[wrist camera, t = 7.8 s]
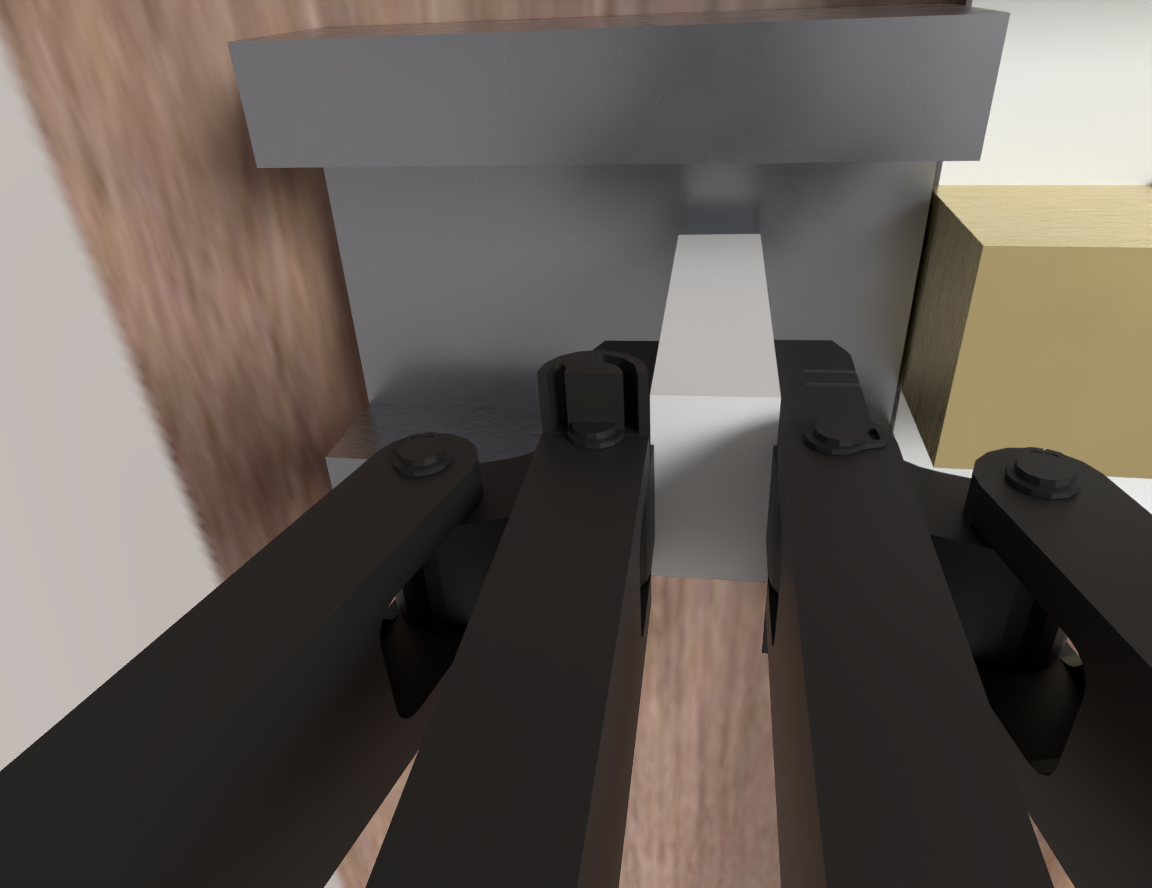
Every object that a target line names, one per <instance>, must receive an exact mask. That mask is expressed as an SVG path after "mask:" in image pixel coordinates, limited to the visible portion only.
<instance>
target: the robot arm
mask: <svg viewBox="0 0 1152 888" xmlns="http://www.w3.org/2000/svg"><path fill="white" fill-rule="evenodd" d="M537 380H538V391H539V402H540V413H541V424H542V434H541V437H540V440H539V442H538V445H537V447H536V450H535V451H534V452H531V453H528V454H525V455H523V456H518V457H513V458H509V459H503V460H496V461H489V462H483V463H479V460H478V453H477V447H476V446H475V445H474V444H472V443H471V442H470V441H469V440H468V439H466V438H463V437H460V436H457V435H454V434H447V433H436V432H426V433H424V434H421V433H418V434H413V435H410V436H408V437H406V438H403V439H400V440H397V441H394V442H392V443H390V444H389V445H387V446H385V447H384V448H382V449H380V450H379V451H377V452H376V453H375V454H374V455H373V456H371V457H370V458H369V459H368V460H367V461H365V462H364V463H363V464H362V465H361V466H360V467H358V468H357V469H356V470H355V471H354V472H352V473H351V474H350V475H349V476H348V477H347V478H345V479H344V480H343V481H342V482H341V483H340V484H338V485H337V486H336V487H335V488H334V489H332V490H331V491H330V492H329V493H328V494H327V495H325V496H324V497H323V498H322V499H321V500H319V501H318V502H317V503H316V504H315V505H314V506H312V507H311V508H310V509H309V510H308V511H307V512H305V513H304V514H303V515H302V516H301V517H299V518H298V519H297V520H296V521H295V522H294V523H292V524H291V525H290V526H289V527H288V528H287V529H285V530H284V531H283V532H282V533H281V534H279V535H278V536H277V537H276V538H275V539H274V540H272V541H271V542H270V543H269V544H268V545H266V546H265V547H264V548H263V549H262V550H261V551H259V552H258V553H257V554H256V555H255V556H254V557H252V558H251V559H250V560H249V561H248V562H246V563H245V564H244V565H243V566H242V567H241V568H239V569H238V570H237V571H236V572H235V573H233V574H232V575H231V576H230V577H229V578H228V579H226V580H225V581H224V582H223V583H222V584H221V585H219V586H218V587H217V588H216V589H215V590H213V591H212V592H211V593H210V594H209V595H208V596H206V597H205V598H204V599H203V600H202V601H201V602H200V603H198V604H197V605H196V606H195V607H193V608H192V609H191V610H190V611H189V612H188V613H186V614H185V615H184V616H183V617H182V618H181V619H179V620H178V621H177V622H176V623H175V624H173V625H172V626H171V627H170V628H169V629H168V630H166V631H165V632H164V633H163V634H162V635H160V636H159V637H158V638H157V639H156V640H155V641H153V642H152V643H151V644H150V645H149V646H148V647H146V648H145V649H144V650H143V651H142V652H141V653H139V654H138V655H137V656H136V657H135V658H133V659H132V660H131V661H130V662H129V663H127V665H125V666H124V667H123V668H122V669H120V670H119V671H118V672H117V673H116V674H115V675H113V676H112V677H111V678H110V679H109V680H107V681H106V682H105V683H104V684H103V685H102V686H100V687H99V688H98V689H97V690H96V691H94V692H93V693H92V694H91V695H90V696H89V697H87V698H86V699H85V700H84V701H83V702H82V703H80V704H79V705H78V706H77V707H76V708H75V709H73V710H72V711H71V712H70V713H69V714H67V715H66V716H65V717H64V718H63V719H62V720H60V721H59V722H58V723H57V724H56V725H54V726H53V727H52V728H51V729H50V730H49V731H47V732H46V733H45V734H44V735H43V736H41V737H40V738H39V739H38V740H37V741H36V742H34V743H33V744H32V745H31V746H30V747H29V748H27V749H26V750H25V751H24V752H23V753H21V754H20V755H19V756H18V757H17V758H16V759H14V760H13V761H12V762H11V763H10V764H8V765H7V766H6V767H5V768H4V769H3V770H1V771H0V888H324V886H325V885H326V883H327V882H328V881H329V879H330V878H331V876H332V875H333V873H334V872H335V870H336V869H337V868H338V866H339V865H340V863H341V862H342V860H343V859H344V857H345V856H346V854H347V853H348V852H349V850H350V849H351V847H352V846H353V844H354V843H355V841H356V840H357V838H358V837H359V836H360V834H361V833H362V831H363V830H364V828H365V827H366V825H367V824H368V823H369V821H370V820H371V818H372V817H373V815H374V814H375V812H376V811H377V809H378V808H379V807H380V805H381V804H382V802H383V801H384V799H385V798H386V796H387V795H388V793H389V792H390V791H391V789H392V788H393V786H394V785H395V783H396V782H397V780H398V779H399V777H400V776H401V775H402V773H403V772H404V770H405V769H406V767H407V766H408V764H409V763H410V761H411V760H412V759H413V757H414V756H415V754H416V753H417V751H418V750H419V751H418V754H417V756H416V759H415V761H414V764H413V767H412V769H411V772H410V774H409V777H408V779H407V782H406V785H405V787H404V790H403V792H402V795H401V797H400V800H399V803H398V805H397V808H396V810H395V813H394V816H393V818H392V821H391V823H390V826H389V828H388V831H387V834H386V836H385V839H384V841H383V844H382V846H381V849H380V852H379V854H378V857H377V859H376V862H375V864H374V867H373V870H372V872H371V875H370V877H369V880H368V882H367V885H366V888H619V879H620V870H621V862H622V853H623V844H624V835H625V827H626V818H627V809H628V800H629V792H630V783H631V774H632V765H633V757H634V748H635V739H636V730H637V722H638V713H639V704H640V695H641V687H642V678H643V669H644V660H645V652H646V643H647V634H648V625H649V617H650V608H651V566H652V575H653V576H670V577H687V578H704V579H720V580H737V581H754V582H766V577H767V565H768V584H767V596H766V609H765V621H764V633H763V645H762V653H768V661H769V679H770V697H771V715H772V733H773V750H774V768H775V786H776V804H777V822H778V840H779V857H780V875H781V888H1054V886H1053V884H1052V881H1051V878H1050V875H1049V872H1048V869H1047V867H1046V864H1045V861H1044V858H1043V855H1042V852H1041V849H1040V847H1039V844H1038V841H1037V838H1036V835H1035V832H1034V830H1033V827H1032V824H1031V821H1030V818H1029V815H1030V816H1031V818H1032V820H1033V821H1034V823H1035V824H1036V826H1037V827H1038V829H1039V831H1040V832H1041V834H1042V835H1043V837H1044V839H1045V840H1046V842H1047V843H1048V845H1049V847H1050V848H1051V850H1052V851H1053V853H1054V855H1055V856H1056V858H1057V859H1058V861H1059V863H1060V864H1061V866H1062V867H1063V869H1064V871H1065V872H1066V874H1067V875H1068V877H1069V878H1070V880H1071V882H1072V883H1073V885H1074V886H1075V888H1152V514H1151V513H1150V512H1149V511H1147V510H1146V509H1145V508H1144V507H1143V506H1141V505H1140V504H1139V503H1138V502H1137V501H1135V500H1134V499H1133V498H1132V497H1130V496H1129V495H1128V494H1127V493H1126V492H1124V491H1123V490H1122V489H1121V488H1120V487H1118V486H1117V485H1116V484H1115V483H1114V482H1112V481H1111V480H1110V479H1109V478H1108V477H1106V476H1105V475H1104V474H1103V473H1101V472H1099V471H1098V470H1096V469H1094V468H1093V467H1091V466H1090V465H1088V464H1086V463H1085V462H1083V461H1080V460H1077V459H1075V458H1072V457H1069V456H1066V455H1064V454H1062V453H1061V452H1058V451H1054V450H1049V449H1046V450H1043V448H1036V447H1026V448H1003V449H999V450H994V451H989V452H987V453H985V454H984V455H982V456H981V457H980V458H978V459H977V460H975V464H974V468H973V472H972V477H971V478H968V477H963V476H958V475H953V474H948V473H943V472H938V471H934V470H931V469H927V468H923V467H919V466H917V465H914V464H912V463H909V462H907V461H905V460H903V457H902V454H901V451H900V448H899V445H898V442H897V441H896V440H895V438H894V437H893V436H892V434H891V433H890V432H889V431H888V430H886V429H884V428H883V427H881V426H879V425H878V424H876V423H874V422H872V420H871V417H870V414H869V411H868V408H867V404H866V401H865V398H864V395H863V392H862V389H861V387H860V382H859V379H858V376H857V374H856V370H855V367H854V363H853V360H852V357H851V354H849V353H848V352H847V351H846V350H844V349H843V348H842V347H840V346H839V345H838V344H836V343H835V342H834V341H832V340H774V338H773V330H772V322H771V314H770V306H769V298H768V290H767V282H766V274H765V266H764V258H763V250H762V242H761V234H710V235H678V240H677V246H676V252H675V257H674V263H673V268H672V274H671V280H670V285H669V291H668V296H667V302H666V308H665V313H664V319H663V324H662V330H661V336H660V341H611V340H605V341H604V342H602V343H601V344H600V345H598V346H597V347H596V348H594V349H593V350H591V351H578V352H574V353H570V354H565V355H561V356H558V357H556V358H554V359H552V360H550V361H548V362H546V363H545V364H544V365H543V366H542V367H541V368H540V369H539V370H538V371H537ZM394 597H395V598H396V599H395V600H394V601H393V602H392V604H391V605H390V603H391V601H392V600H393V598H394ZM389 605H390V606H389ZM388 606H389V607H388ZM1067 637H1068V638H1069V639H1070V640H1071V642H1072V643H1073V645H1074V646H1075V648H1076V650H1077V651H1078V653H1079V656H1080V657H1079V656H1078V655H1077V654H1076V653H1075V651H1074V650H1073V649H1072V648H1071V647H1070V646H1069V644H1068V643H1067V642H1066V640H1067ZM419 748H420V749H419ZM1028 813H1029V815H1028Z"/></svg>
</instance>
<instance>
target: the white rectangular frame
mask: <svg viewBox="0 0 1152 888" xmlns="http://www.w3.org/2000/svg"><path fill="white" fill-rule="evenodd" d="M966 6H971V7H978V8H984V9H990V10H996V11H1003V12H1009V13H1010V17H1009V22H1008V27H1007V32H1006V37H1005V42H1004V47H1003V51H1002V56H1001V61H1000V66H999V71H998V76H997V81H996V85H995V90H994V95H993V100H992V105H991V110H990V115H989V119H988V124H987V129H986V134H985V139H984V144H983V149H982V153H981V158H980V161H938V162H937V167H936V173H935V179H934V184H933V185H1152V0H967V1H966ZM890 425H891V428H892V431H893V434H894V436H895V439H896V441H897V442H898V445H899V448H900V451H901V454H902V457H903V460H905V461H907V462H909V463H912V464H914V465H917V466H919V467H923V468H927V469H931V470H934V471H938V472H943V473H948V474H953V475H958V476H963V477H968V478H971V477H972V472H973V470H971V469H952V468H934V467H933V465H932V463H931V460H930V458H929V455H928V453H927V450H926V448H925V446H924V443H923V441H922V438H921V436H920V434H919V431H918V429H917V426H916V424H915V421H914V419H913V417H912V414H911V412H910V409H909V407H908V404H907V402H906V400H905V397H904V395H903V392H902V390H901V388H900V385H899V383H898V384H897V390H896V395H895V401H894V406H893V412H892V417H891V423H890ZM1108 478H1109V479H1110V480H1111V481H1112V482H1114V483H1115V484H1116V485H1117V486H1118V487H1120V488H1121V489H1122V490H1123V491H1124V492H1126V493H1127V494H1128V495H1129V496H1130V497H1132V498H1133V499H1134V500H1135V501H1137V502H1138V503H1139V504H1140V505H1141V506H1143V507H1144V508H1145V509H1146V510H1147V511H1149V512H1150V513H1151V514H1152V479H1144V478H1124V477H1108Z"/></svg>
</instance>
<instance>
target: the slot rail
mask: <svg viewBox="0 0 1152 888" xmlns="http://www.w3.org/2000/svg"><path fill="white" fill-rule="evenodd" d="M1009 17H1010V13H1009V12H1003V11H996V10H990V9H984V8H978V7H971V6H965V5H959V4H953V3H931V4H906V5H881V6H855V7H830V8H805V9H780V10H755V11H729V12H704V13H679V14H654V15H628V16H603V17H578V18H553V19H528V20H502V21H477V22H452V23H427V24H401V25H376V26H351V27H326V28H318V29H311V30H304V31H298V32H291V33H284V34H278V35H271V36H264V37H258V38H251V39H244V40H238V41H231V42H228V46H229V51H230V55H231V59H232V63H233V68H234V72H235V76H236V80H237V85H238V89H239V93H240V97H241V102H242V106H243V110H244V114H245V119H246V123H247V127H248V131H249V136H250V140H251V144H252V148H253V153H254V157H255V161H256V165H257V168H316V167H323V169H324V174H325V179H326V184H327V189H328V194H329V199H330V205H331V210H332V215H333V220H334V225H335V230H336V235H337V241H338V246H339V251H340V256H341V261H342V266H343V271H344V277H345V282H346V287H347V292H348V297H349V302H350V307H351V313H352V318H353V323H354V328H355V333H356V338H357V343H358V349H359V354H360V359H361V364H362V369H363V374H364V379H365V384H366V390H367V395H368V400H369V404H368V405H367V407H366V408H365V409H364V410H363V412H362V413H361V414H360V415H359V416H358V418H357V419H356V420H355V421H354V423H353V424H352V425H351V426H350V427H349V429H348V430H347V431H346V432H345V434H344V435H343V436H342V437H341V438H340V440H339V441H338V442H337V443H336V444H335V446H334V447H333V448H332V449H331V451H330V452H329V453H328V454H327V455H326V457H325V459H326V463H327V467H328V472H329V476H330V480H331V484H332V489H334V488H335V487H336V486H337V485H338V484H340V483H341V482H342V481H343V480H344V479H345V478H347V477H348V476H349V475H350V474H351V473H352V472H354V471H355V470H356V469H357V468H358V467H360V466H361V465H362V464H363V463H364V462H365V461H367V460H368V459H369V458H370V457H371V456H373V455H374V454H375V453H376V452H377V451H379V450H380V449H382V448H384V447H385V446H387V445H389V444H390V443H392V442H394V441H397V440H400V439H403V438H406V437H408V436H410V435H413V434H418V433H421V434H424V433H426V432H436V433H447V434H454V435H457V436H460V437H463V438H466V439H468V440H469V441H470V442H471V443H472V444H474V445H475V446H476V447H477V453H478V460H479V463H483V462H489V461H496V460H503V459H509V458H513V457H518V456H523V455H525V454H528V453H531V452H534V451H535V450H536V447H537V445H538V442H539V440H540V437H541V434H542V424H541V413H540V402H539V391H538V380H537V371H538V370H539V369H540V368H541V367H542V366H543V365H544V364H545V363H546V362H548V361H550V360H552V359H554V358H556V357H558V356H561V355H565V354H570V353H574V352H578V351H591V350H593V349H594V348H596V347H597V346H598V345H600V344H601V343H602V342H604V341H605V340H611V341H660V336H661V330H662V324H663V319H664V313H665V308H666V302H667V296H668V291H669V285H670V280H671V274H672V268H673V263H674V257H675V252H676V246H677V240H678V235H710V234H761V242H762V250H763V258H764V266H765V274H766V282H767V290H768V298H769V306H770V314H771V322H772V330H773V338H774V340H832V341H834V342H835V343H836V344H838V345H839V346H840V347H842V348H843V349H844V350H846V351H847V352H848V353H849V354H851V357H852V360H853V363H854V367H855V370H856V374H857V376H858V379H859V382H860V387H861V389H862V392H863V395H864V398H865V401H866V404H867V408H868V411H869V414H870V417H871V420H872V422H874V423H876V424H878V425H879V426H881V427H883V428H884V429H886V430H888V431H889V432H890V433H891V434H892V436H893V437H894V438H895V436H894V434H893V431H892V428H891V425H890V422H891V416H892V411H893V405H894V400H895V394H896V389H897V383H898V377H899V372H900V366H901V361H902V355H903V350H904V344H905V339H906V333H907V327H908V322H909V316H910V311H911V305H912V300H913V294H914V289H915V283H916V277H917V272H918V266H919V261H920V255H921V250H922V244H923V239H924V233H925V227H926V222H927V216H928V211H929V205H930V200H931V194H932V188H933V183H934V177H935V172H936V166H937V161H980V158H981V153H982V149H983V144H984V139H985V134H986V129H987V124H988V119H989V115H990V110H991V105H992V100H993V95H994V90H995V85H996V81H997V76H998V71H999V66H1000V61H1001V56H1002V51H1003V47H1004V42H1005V37H1006V32H1007V27H1008V22H1009ZM895 440H896V439H895Z"/></svg>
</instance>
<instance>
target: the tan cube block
mask: <svg viewBox="0 0 1152 888" xmlns="http://www.w3.org/2000/svg"><path fill="white" fill-rule="evenodd" d="M898 383H899V385H900V388H901V390H902V392H903V395H904V397H905V400H906V402H907V404H908V407H909V409H910V412H911V414H912V417H913V419H914V421H915V424H916V426H917V429H918V431H919V434H920V436H921V438H922V441H923V443H924V446H925V448H926V450H927V453H928V455H929V458H930V460H931V463H932V465H933V467H934V468H952V469H971V470H973V468H974V464H975V460H977V459H978V458H980V457H981V456H982V455H984V454H985V453H987V452H989V451H994V450H999V449H1003V448H1026V447H1036V448H1043V450H1046V449H1049V450H1054V451H1058V452H1061V453H1062V454H1064V455H1066V456H1069V457H1072V458H1075V459H1077V460H1080V461H1083V462H1085V463H1086V464H1088V465H1090V466H1091V467H1093V468H1094V469H1096V470H1098V471H1099V472H1101V473H1103V474H1104V475H1105V476H1106V477H1124V478H1144V479H1152V185H933V188H932V194H931V200H930V205H929V211H928V216H927V222H926V227H925V233H924V239H923V244H922V250H921V255H920V261H919V266H918V272H917V277H916V283H915V289H914V294H913V300H912V305H911V311H910V316H909V322H908V327H907V333H906V339H905V344H904V350H903V355H902V361H901V366H900V372H899V377H898Z"/></svg>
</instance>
